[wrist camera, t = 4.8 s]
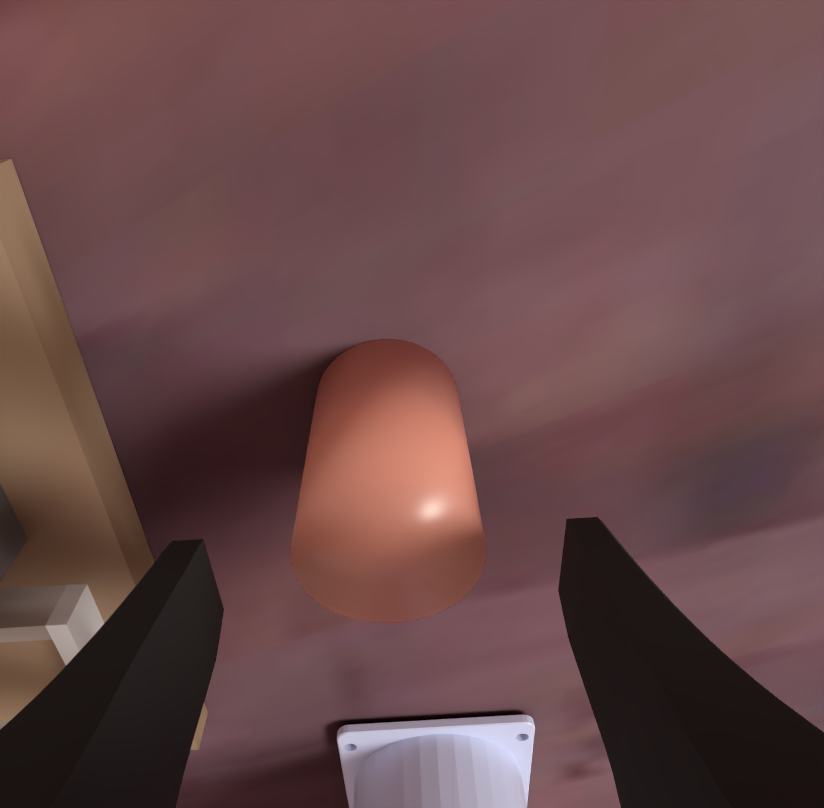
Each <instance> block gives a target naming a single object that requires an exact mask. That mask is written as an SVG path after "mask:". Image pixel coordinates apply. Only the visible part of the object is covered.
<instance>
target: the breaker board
mask: <svg viewBox="0 0 824 808" xmlns="http://www.w3.org/2000/svg"><path fill="white" fill-rule="evenodd" d="M153 564H154V559H153V557H152V554H151V551H150V548H149V545H148V542H147V540H146V537H145V534H144V531H143V528H142V526H141V523H140V520H139V517H138V514H137V511H136V509H135V506H134V503H133V500H132V497H131V495H130V492H129V489H128V486H127V483H126V480H125V478H124V475H123V472H122V469H121V466H120V464H119V461H118V458H117V455H116V452H115V449H114V447H113V444H112V441H111V438H110V435H109V433H108V430H107V427H106V424H105V421H104V418H103V416H102V413H101V410H100V407H99V404H98V401H97V399H96V396H95V393H94V390H93V387H92V385H91V382H90V379H89V376H88V373H87V370H86V368H85V365H84V362H83V359H82V356H81V354H80V351H79V348H78V345H77V342H76V339H75V337H74V334H73V331H72V328H71V325H70V323H69V320H68V317H67V314H66V311H65V308H64V306H63V303H62V300H61V297H60V294H59V292H58V289H57V286H56V283H55V280H54V277H53V275H52V272H51V269H50V266H49V263H48V261H47V258H46V255H45V252H44V249H43V246H42V244H41V241H40V238H39V235H38V232H37V230H36V227H35V224H34V221H33V218H32V215H31V213H30V210H29V207H28V204H27V201H26V199H25V196H24V193H23V190H22V187H21V184H20V182H19V179H18V176H17V173H16V170H15V167H14V165H13V162H12V159H0V729H1V728H2V727H4V726H5V725H6V724H7V723H8V722H9V721H10V720H11V719H13V718H14V717H15V716H16V715H17V714H18V713H19V712H20V711H21V710H22V709H23V708H24V707H25V706H26V705H27V704H28V703H29V702H31V701H32V700H33V699H34V698H35V697H36V696H37V695H38V694H39V693H40V692H41V691H42V690H43V689H44V688H45V687H46V686H47V685H48V684H49V683H50V682H51V681H52V680H53V679H54V678H55V677H56V676H57V675H58V674H59V673H60V672H61V671H62V669H63V668H64V667H65V666H66V665H67V664H68V663H69V662H70V661H71V660H72V659H73V658H74V657H75V655H76V654H77V653H78V652H79V651H80V650H81V649H82V648H83V647H84V646H85V645H86V644H87V642H88V641H89V640H90V639H91V638H92V637H93V636H94V635H95V634H96V632H97V631H98V630H99V629H100V628H101V627H102V626H103V624H104V623H105V622H106V621H107V620H108V618H109V617H110V616H111V615H112V614H113V613H114V611H115V610H116V609H117V608H118V607H119V605H120V604H121V603H122V602H123V601H124V600H125V598H126V597H127V596H128V595H129V593H130V592H131V591H132V590H133V589H134V587H135V586H136V585H137V584H138V582H139V581H140V580H141V579H142V577H143V576H144V575H145V574H146V572H147V571H148V570H149V569H150V567H151V566H152V565H153ZM207 714H208V712H207V709H206V706H205V703H204V704H203V708H202V711H201V715H200V718H199V721H198V725H197V728H196V732H195V735H194V739H193V742H192V746H191V749H190V750H199V746H200V742H201V738H202V734H203V730H204V726H205V722H206V718H207Z"/></svg>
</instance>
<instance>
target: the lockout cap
mask: <svg viewBox="0 0 824 808" xmlns="http://www.w3.org/2000/svg"><path fill="white" fill-rule="evenodd" d="M290 557H291V565H292V568H293V572H294V574H295V576H296V578H297V580H298V582H299V583H300V585H301V586H302V588H303V589H304V590H305V591H306V592H307V593H308V595H309V596H310V597H312V598H313V599H314V600H315V601H316V602H318V603H319V604H321V605H322V606H324V607H325V608H327V609H329V610H331V611H333V612H335V613H337V614H340V615H342V616H345V617H348V618H351V619H355V620H359V621H365V622H372V623H401V622H408V621H414V620H418V619H422V618H425V617H429V616H431V615H434V614H436V613H439V612H441V611H443V610H445V609H447V608H449V607H450V606H452V605H453V604H455V603H456V602H458V601H459V600H460V599H462V598H463V597H464V596H465V595H466V594H467V593H468V592H469V591H470V590H471V589H472V588H473V586H474V585H475V584H476V582H477V581H478V579H479V577H480V575H481V573H482V571H483V568H484V564H485V559H486V543H485V537H484V532H483V526H482V521H481V515H480V510H479V505H478V499H477V494H476V488H475V483H474V478H473V472H472V467H471V461H470V456H469V451H468V445H467V440H466V434H465V429H464V423H463V418H462V413H461V407H460V402H459V396H458V391H457V387H456V383H455V380H454V378H453V376H452V374H451V372H450V371H449V369H448V368H447V366H446V365H445V364H444V363H443V362H442V361H441V360H440V359H439V358H438V357H437V356H436V355H435V354H433V353H432V352H430V351H429V350H427V349H425V348H423V347H421V346H419V345H416V344H414V343H411V342H407V341H402V340H394V339H381V340H373V341H368V342H364V343H361V344H359V345H356V346H354V347H352V348H350V349H348V350H346V351H345V352H343V353H342V354H340V355H339V356H338V357H337V358H336V359H334V360H333V361H332V362H331V364H330V365H329V366H328V367H327V369H326V370H325V372H324V373H323V375H322V377H321V380H320V382H319V386H318V389H317V395H316V401H315V407H314V412H313V418H312V424H311V430H310V436H309V442H308V448H307V454H306V460H305V466H304V471H303V477H302V483H301V489H300V495H299V501H298V507H297V513H296V519H295V525H294V530H293V536H292V542H291V552H290Z"/></svg>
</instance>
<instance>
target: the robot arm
mask: <svg viewBox="0 0 824 808" xmlns="http://www.w3.org/2000/svg"><path fill="white" fill-rule="evenodd" d="M558 591H559V595H560V600H561V605H562V610H563V615H564V620H565V624H566V629H567V633H568V638H569V641H570V644H571V647H572V650H573V653H574V656H575V659H576V662H577V665H578V668H579V671H580V674H581V677H582V680H583V683H584V686H585V689H586V692H587V695H588V698H589V701H590V704H591V707H592V710H593V713H594V716H595V719H596V722H597V725H598V727H599V730H600V733H601V736H602V739H603V742H604V745H605V748H606V752H607V755H608V758H609V762H610V765H611V768H612V772H613V776H614V780H615V784H616V788H617V792H618V797H619V801H620V805H621V808H824V732H823V731H821V730H820V729H819V728H817V727H816V726H814V725H813V724H812V723H810V722H809V721H808V720H806V719H805V718H804V717H802V716H801V715H800V714H798V713H797V712H795V711H794V710H793V709H791V708H790V707H789V706H787V705H786V704H785V703H783V702H782V701H781V700H779V699H778V698H777V697H775V696H774V695H773V694H772V693H770V692H769V691H768V690H767V689H765V688H764V687H763V686H762V685H761V684H759V683H758V682H757V681H756V680H754V679H753V678H752V677H751V676H750V675H749V674H747V673H746V672H745V671H744V670H743V669H742V668H740V667H739V666H738V665H737V664H736V663H735V662H733V661H732V660H731V659H730V658H729V657H728V656H727V655H726V654H724V653H723V652H722V651H721V650H720V649H719V648H718V647H717V646H716V645H715V644H714V643H713V642H711V641H710V640H709V639H708V638H707V637H706V636H705V635H704V634H703V633H702V632H701V631H700V630H699V629H698V628H697V627H696V626H695V625H694V624H693V623H692V622H691V621H690V620H689V619H688V618H687V617H686V616H685V615H684V614H683V613H682V612H681V611H680V610H679V609H678V608H677V607H676V606H675V605H674V604H673V603H672V602H671V601H670V600H669V598H668V597H667V596H666V595H665V594H664V593H663V592H662V591H661V590H660V589H659V588H658V587H657V586H656V584H655V583H654V582H653V581H652V580H651V579H650V578H649V577H648V576H647V574H646V573H645V572H644V571H643V570H642V569H641V568H640V566H639V565H638V564H637V563H636V562H635V561H634V559H633V558H632V557H631V556H630V555H629V554H628V552H627V551H626V550H625V549H624V548H623V546H622V545H621V544H620V543H619V542H618V540H617V539H616V538H615V537H614V535H613V534H612V533H611V532H610V531H609V529H608V528H607V527H606V526H605V524H604V523H603V522H602V521H601V520H600V519H599V518H598V517H592V518H575V519H567V521H566V530H565V538H564V547H563V555H562V564H561V572H560V581H559V590H558ZM223 611H224V608H223V605H222V602H221V598H220V595H219V591H218V588H217V585H216V581H215V578H214V574H213V571H212V568H211V564H210V561H209V557H208V554H207V551H206V547H205V544H204V540H203V539H200V540H182V541H172V542H171V543H170V544H169V545H168V546H167V548H166V549H165V550H164V551H163V552H162V554H161V555H160V556H159V557H158V559H157V560H156V561H155V562H154V564H153V565H152V566H151V567H150V569H149V570H148V571H147V572H146V574H145V575H144V576H143V577H142V579H141V580H140V581H139V582H138V584H137V585H136V586H135V587H134V589H133V590H132V591H131V592H130V593H129V595H128V596H127V597H126V598H125V600H124V601H123V602H122V603H121V604H120V605H119V607H118V608H117V609H116V610H115V611H114V613H113V614H112V615H111V616H110V617H109V618H108V620H107V621H106V622H105V623H104V624H103V626H102V627H101V628H100V629H99V630H98V631H97V632H96V634H95V635H94V636H93V637H92V638H91V639H90V640H89V641H88V642H87V644H86V645H85V646H84V647H83V648H82V649H81V650H80V651H79V652H78V653H77V654H76V655H75V657H74V658H73V659H72V660H71V661H70V662H69V663H68V664H67V665H66V666H65V667H64V668H63V669H62V671H61V672H60V673H59V674H58V675H57V676H56V677H55V678H54V679H53V680H52V681H51V682H50V683H49V684H48V685H47V686H46V687H45V688H44V689H43V690H42V691H41V692H40V693H39V694H38V695H37V696H36V697H35V698H34V699H33V700H32V701H31V702H29V703H28V704H27V705H26V706H25V707H24V708H23V709H22V710H21V711H20V712H19V713H18V714H17V715H16V716H15V717H14V718H13V719H11V720H10V721H9V722H8V723H7V724H6V725H5V726H4V727H2V728H1V729H0V808H176V804H177V798H178V794H179V790H180V786H181V782H182V778H183V774H184V770H185V767H186V763H187V760H188V756H189V753H190V749H191V746H192V742H193V739H194V735H195V732H196V728H197V725H198V721H199V718H200V715H201V711H202V708H203V704H204V701H205V697H206V694H207V690H208V686H209V683H210V679H211V676H212V672H213V668H214V665H215V661H216V656H217V650H218V644H219V638H220V632H221V625H222V618H223ZM534 733H535V726H534V721H533V718H532V717H530V716H528V715H523V714H520V715H503V716H486V717H469V718H452V719H435V720H417V721H400V722H383V723H366V724H349V725H344V726H342V727H340V728H339V729H338V732H337V744H338V749H339V755H340V760H341V766H342V771H343V777H344V782H345V788H346V793H347V799H348V804H349V808H527V800H528V790H529V781H530V771H531V762H532V752H533V742H534Z"/></svg>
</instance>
